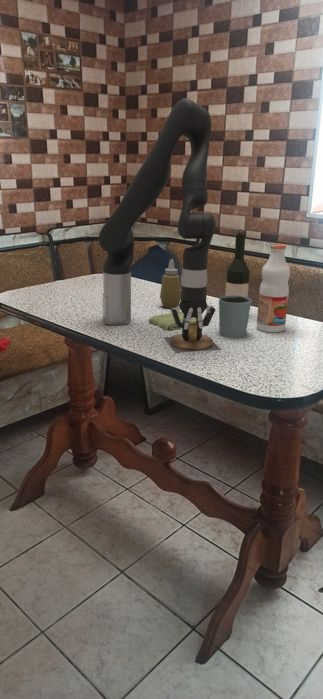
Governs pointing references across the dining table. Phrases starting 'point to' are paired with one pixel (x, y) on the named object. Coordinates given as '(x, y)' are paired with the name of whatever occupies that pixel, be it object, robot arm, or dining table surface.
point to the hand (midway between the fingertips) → (191, 339)
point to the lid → (191, 340)
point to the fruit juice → (274, 291)
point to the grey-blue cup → (233, 316)
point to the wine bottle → (238, 270)
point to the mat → (190, 350)
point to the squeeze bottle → (170, 287)
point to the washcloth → (168, 321)
